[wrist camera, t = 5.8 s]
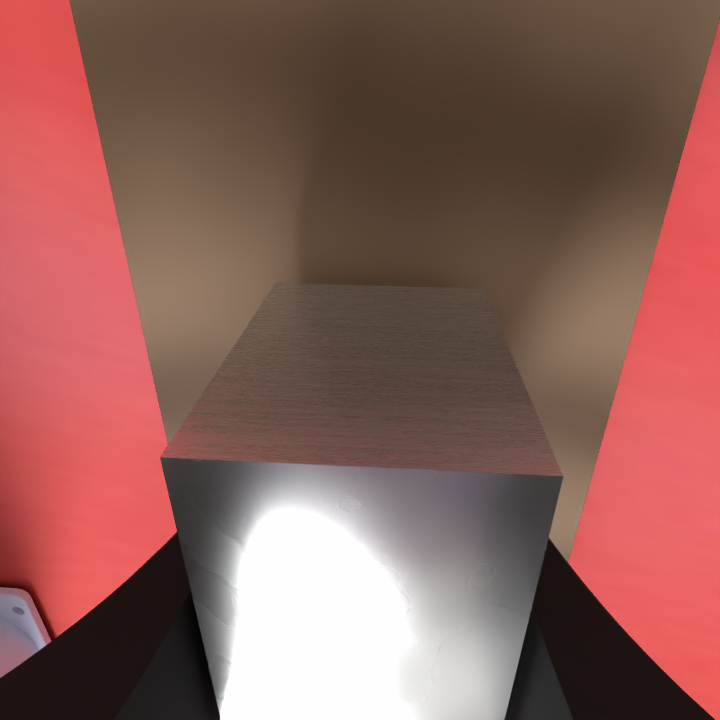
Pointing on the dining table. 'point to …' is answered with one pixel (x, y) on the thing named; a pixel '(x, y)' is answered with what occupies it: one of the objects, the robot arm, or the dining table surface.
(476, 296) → the aluminium block
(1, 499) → the dining table surface
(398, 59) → the walnut plinth
